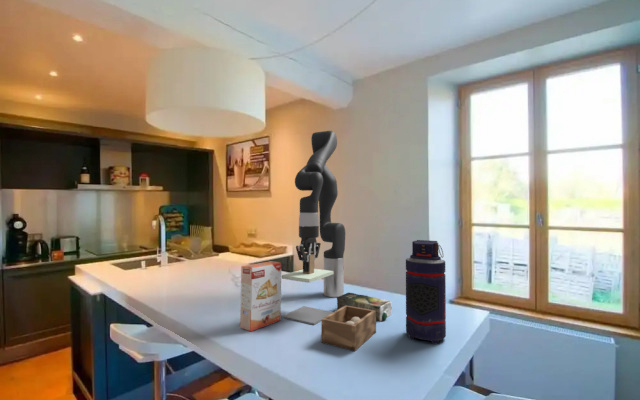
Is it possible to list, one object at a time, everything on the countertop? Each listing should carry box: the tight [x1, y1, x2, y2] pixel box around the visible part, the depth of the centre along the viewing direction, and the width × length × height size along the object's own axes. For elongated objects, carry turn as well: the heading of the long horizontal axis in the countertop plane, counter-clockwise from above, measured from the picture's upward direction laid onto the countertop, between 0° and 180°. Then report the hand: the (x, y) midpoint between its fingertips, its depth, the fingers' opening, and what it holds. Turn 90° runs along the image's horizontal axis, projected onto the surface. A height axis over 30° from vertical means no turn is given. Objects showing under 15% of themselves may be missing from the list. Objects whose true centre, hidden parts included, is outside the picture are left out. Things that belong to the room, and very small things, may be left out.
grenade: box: [405, 239, 447, 345], centre depth 102 cm, size 14×12×30 cm
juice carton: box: [336, 292, 393, 322], centre depth 124 cm, size 20×10×6 cm, turn 53°
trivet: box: [281, 305, 334, 326], centre depth 121 cm, size 14×14×1 cm
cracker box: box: [239, 260, 282, 332], centre depth 112 cm, size 14×6×21 cm, turn 142°
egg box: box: [320, 305, 377, 352], centre depth 101 cm, size 16×11×7 cm
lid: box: [281, 254, 334, 284], centre depth 121 cm, size 17×12×9 cm
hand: (308, 270), depth 121 cm, fingers closed on lid, 3 cm apart
